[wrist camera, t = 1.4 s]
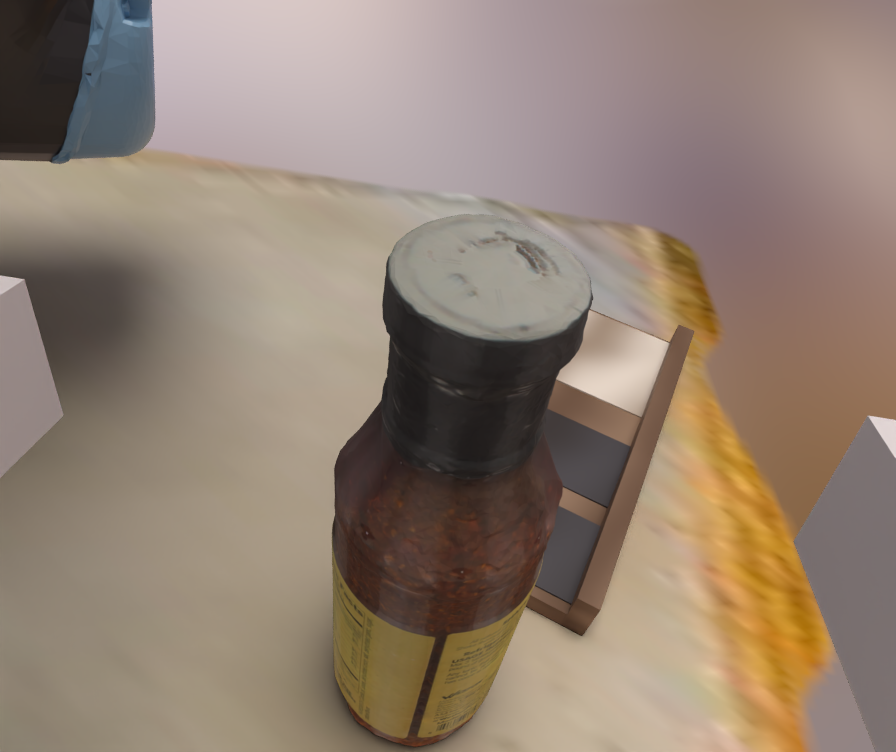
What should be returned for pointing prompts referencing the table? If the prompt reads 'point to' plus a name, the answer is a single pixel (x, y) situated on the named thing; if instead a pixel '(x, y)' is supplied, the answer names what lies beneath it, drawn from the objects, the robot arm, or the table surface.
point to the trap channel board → (601, 458)
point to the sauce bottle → (451, 472)
